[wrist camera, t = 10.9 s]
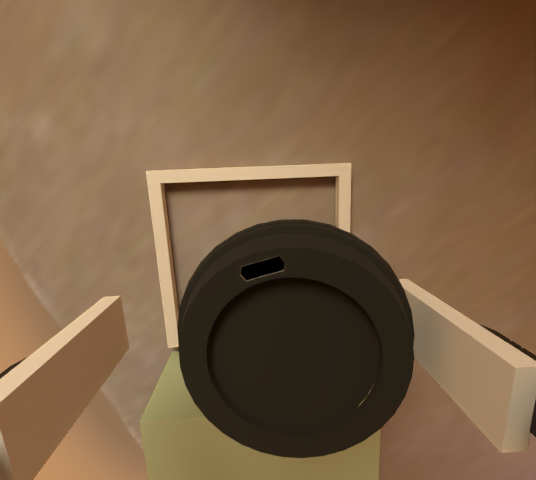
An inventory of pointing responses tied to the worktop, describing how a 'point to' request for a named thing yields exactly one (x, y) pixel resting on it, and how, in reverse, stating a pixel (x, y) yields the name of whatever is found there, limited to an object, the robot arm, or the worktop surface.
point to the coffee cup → (296, 339)
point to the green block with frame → (173, 386)
